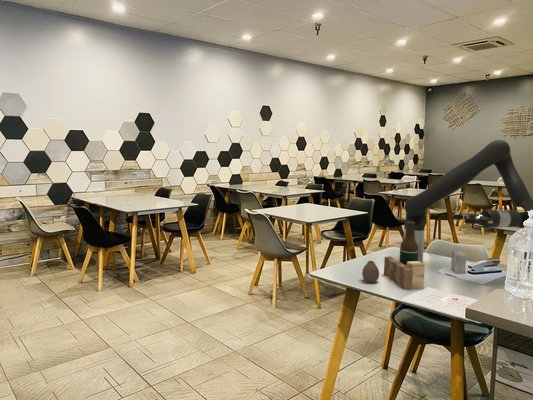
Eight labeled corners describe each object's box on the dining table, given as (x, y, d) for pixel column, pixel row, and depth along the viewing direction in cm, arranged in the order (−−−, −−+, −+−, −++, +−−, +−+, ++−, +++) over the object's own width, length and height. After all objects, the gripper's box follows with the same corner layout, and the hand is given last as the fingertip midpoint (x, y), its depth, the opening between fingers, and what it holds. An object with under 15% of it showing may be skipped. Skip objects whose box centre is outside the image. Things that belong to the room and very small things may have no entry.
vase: (375, 285, 168) (376, 264, 167) (359, 282, 171) (360, 262, 170) (380, 280, 174) (381, 260, 172) (365, 277, 177) (365, 258, 176)
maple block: (405, 285, 168) (407, 261, 167) (417, 284, 169) (418, 261, 168) (411, 289, 164) (413, 265, 162) (423, 288, 164) (424, 264, 163)
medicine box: (465, 274, 183) (466, 255, 182) (454, 273, 184) (456, 254, 183) (460, 268, 191) (462, 251, 190) (450, 268, 192) (451, 250, 191)
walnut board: (383, 273, 183) (384, 256, 182) (390, 273, 183) (390, 256, 182) (404, 289, 163) (405, 270, 162) (411, 289, 163) (412, 269, 162)
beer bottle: (417, 272, 185) (420, 220, 182) (416, 277, 178) (419, 223, 175) (399, 270, 188) (402, 219, 185) (397, 275, 181) (400, 222, 178)
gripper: (484, 207, 175) (449, 207, 173) (508, 212, 161) (470, 213, 159) (482, 224, 176) (448, 224, 174) (506, 231, 162) (468, 231, 160)
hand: (458, 219), depth 167 cm, fingers open, 8 cm apart
